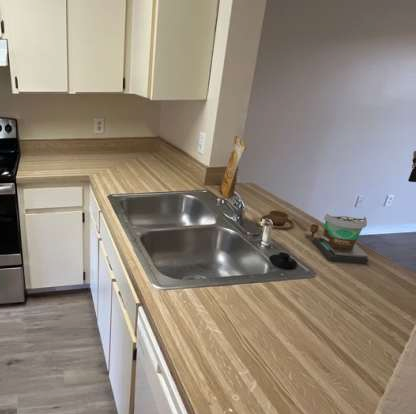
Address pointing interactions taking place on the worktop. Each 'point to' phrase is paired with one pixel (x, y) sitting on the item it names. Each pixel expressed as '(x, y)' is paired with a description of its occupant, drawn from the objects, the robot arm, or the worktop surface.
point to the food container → (342, 230)
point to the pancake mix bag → (232, 168)
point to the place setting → (282, 218)
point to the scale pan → (346, 250)
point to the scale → (338, 258)
